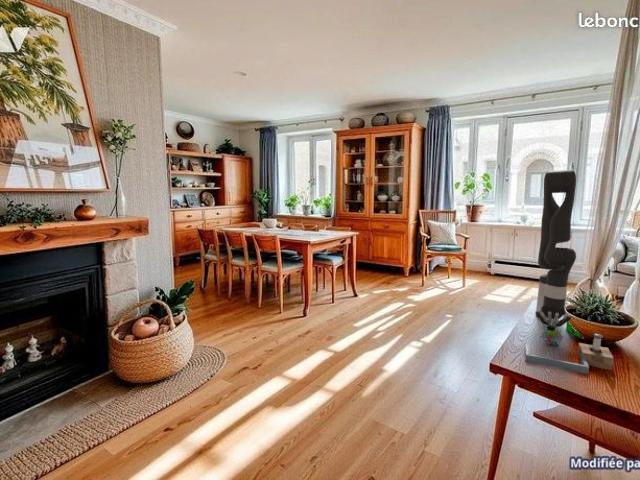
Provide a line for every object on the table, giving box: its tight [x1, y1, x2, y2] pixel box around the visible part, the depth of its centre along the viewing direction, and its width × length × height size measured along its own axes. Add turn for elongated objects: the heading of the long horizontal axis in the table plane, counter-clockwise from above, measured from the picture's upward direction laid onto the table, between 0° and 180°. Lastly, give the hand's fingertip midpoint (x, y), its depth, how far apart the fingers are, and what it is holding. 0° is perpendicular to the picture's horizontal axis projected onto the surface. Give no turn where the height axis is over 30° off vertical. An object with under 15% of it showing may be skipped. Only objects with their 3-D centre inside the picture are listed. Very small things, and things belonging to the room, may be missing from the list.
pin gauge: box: [592, 333, 603, 353], centre depth 132 cm, size 3×3×11 cm
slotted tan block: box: [576, 342, 615, 371], centre depth 133 cm, size 9×9×4 cm
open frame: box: [524, 343, 590, 375], centre depth 133 cm, size 10×19×2 cm, turn 62°
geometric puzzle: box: [540, 328, 563, 347], centre depth 146 cm, size 7×7×8 cm
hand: (550, 334), depth 150 cm, fingers closed
